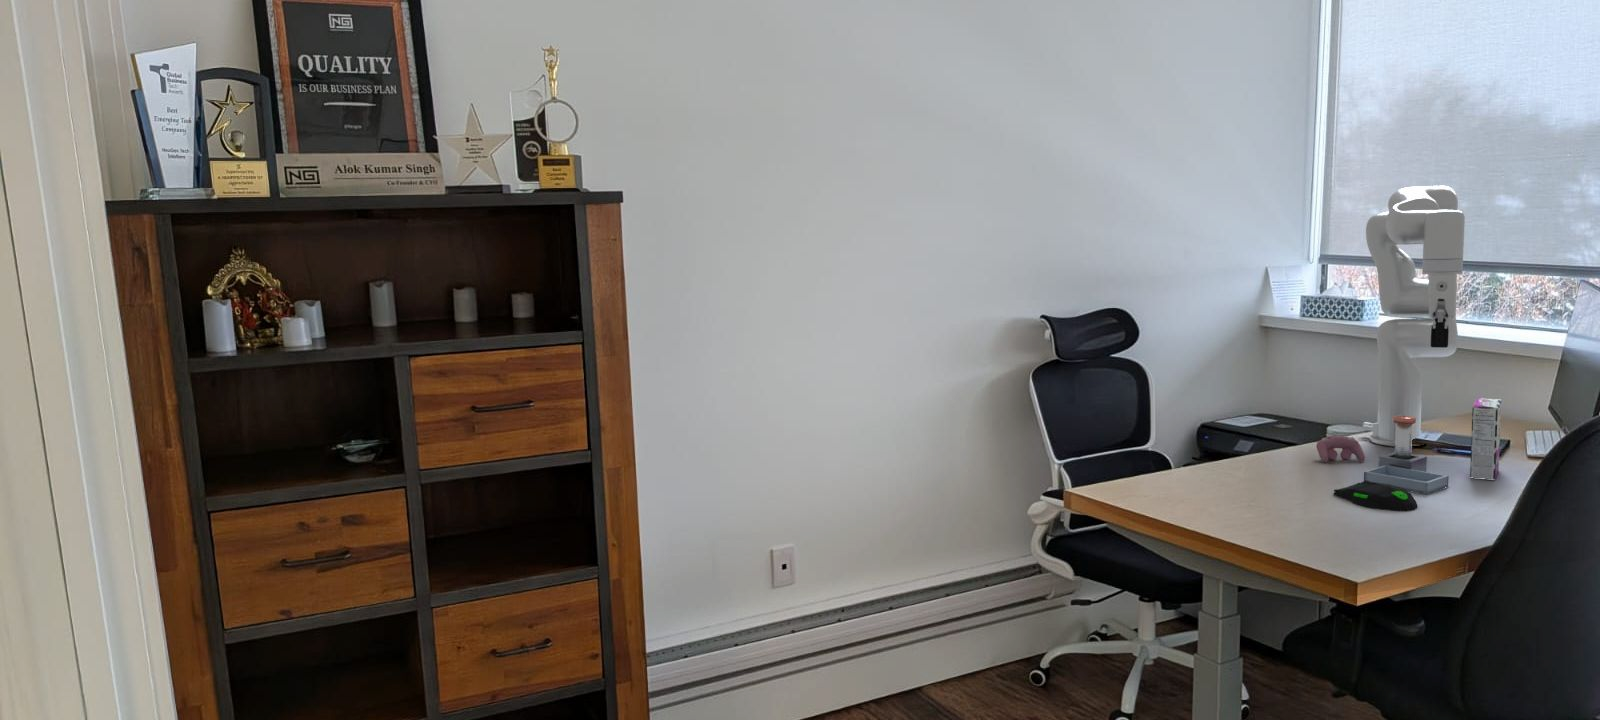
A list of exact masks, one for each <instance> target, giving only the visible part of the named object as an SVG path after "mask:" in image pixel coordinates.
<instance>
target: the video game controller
mask: <svg viewBox="0 0 1600 720" xmlns="http://www.w3.org/2000/svg"><path fill="white" fill-rule="evenodd" d="M1315 447H1316V450H1317V452H1318V455H1319V458H1320V459H1321V461H1322V462H1323V463H1324V464H1325V463H1328V461H1330V460H1331V461H1333V460H1335V459H1337V458H1338V451H1336V449H1341V451H1340V452H1339V455H1340V458H1341V459H1342V460H1344V461H1346V460H1349V459H1350V458H1351V457H1352V455H1354V456H1355V457H1356V459H1357V460H1358V461H1359V462H1360V463H1364V461H1365V458H1366V457H1365V452H1364V451H1363V448H1362V446H1361V444H1360V443H1359V442H1358V441H1357V440H1356V439H1355V437H1348V436H1345V435H1331V436H1328V437H1322V438H1321V439H1320V440H1319V441H1317V442H1316V446H1315Z"/></svg>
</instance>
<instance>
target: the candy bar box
mask: <svg viewBox="0 0 1600 720" xmlns="http://www.w3.org/2000/svg"><path fill="white" fill-rule="evenodd" d="M1471 409H1472V414H1471V416H1472V417H1471V438H1470V439H1471V444H1470V447H1471V448H1470V451H1471V452H1470V467H1469V469H1470V471H1469V477H1473V478H1485V479H1495V478H1496V479H1497V476H1498V472H1499V467H1500V445H1501V443H1500V440H1501V439H1500V438H1501V421H1502V420H1501V415H1502V399H1500V398H1483V397H1477V398H1476V399H1475V401H1474V404H1473V406H1472V408H1471ZM1473 478H1472V479H1473ZM1496 479H1495V480H1496Z"/></svg>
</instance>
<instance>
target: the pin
mask: <svg viewBox="0 0 1600 720" xmlns="http://www.w3.org/2000/svg"><path fill="white" fill-rule="evenodd" d="M1393 422H1395V423H1396V436H1395V447H1394V452H1395V458H1400V459H1406V460H1409V459H1411V454H1412V449H1413V447H1412V425H1413V424H1414V423H1416V417H1412V416H1393Z"/></svg>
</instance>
